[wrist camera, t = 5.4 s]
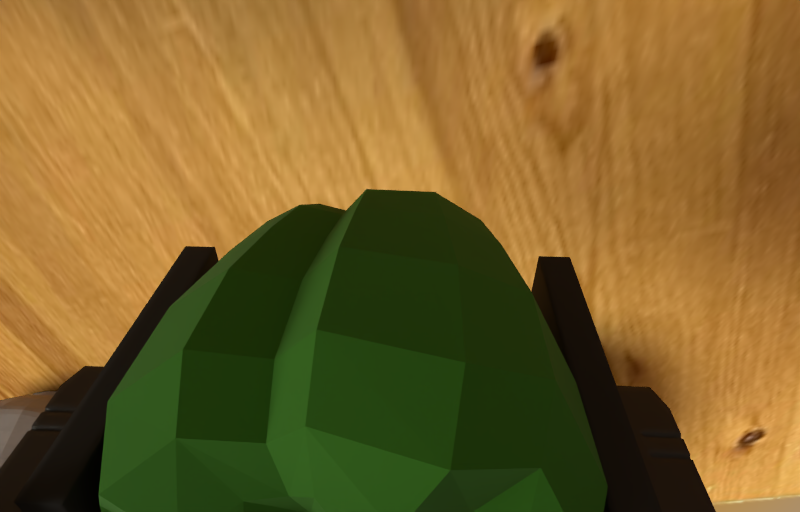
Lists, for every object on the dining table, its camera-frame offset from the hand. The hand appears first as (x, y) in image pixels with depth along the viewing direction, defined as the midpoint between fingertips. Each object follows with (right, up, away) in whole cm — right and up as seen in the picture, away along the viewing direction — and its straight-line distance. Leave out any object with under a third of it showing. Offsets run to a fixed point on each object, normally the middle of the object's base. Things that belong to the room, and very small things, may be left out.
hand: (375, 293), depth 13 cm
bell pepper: (0, +1, +1) cm, 1 cm away
